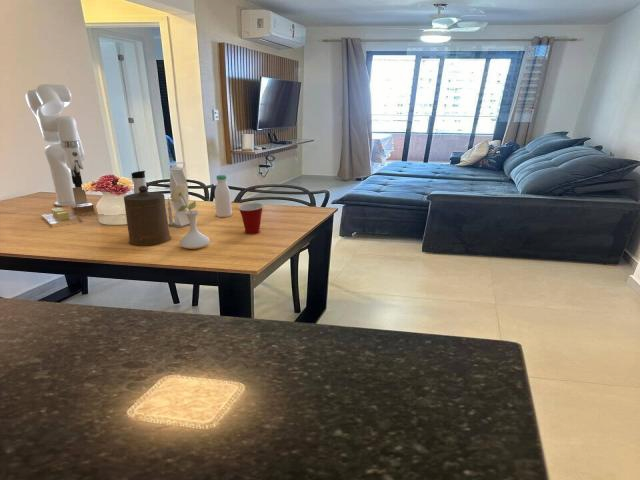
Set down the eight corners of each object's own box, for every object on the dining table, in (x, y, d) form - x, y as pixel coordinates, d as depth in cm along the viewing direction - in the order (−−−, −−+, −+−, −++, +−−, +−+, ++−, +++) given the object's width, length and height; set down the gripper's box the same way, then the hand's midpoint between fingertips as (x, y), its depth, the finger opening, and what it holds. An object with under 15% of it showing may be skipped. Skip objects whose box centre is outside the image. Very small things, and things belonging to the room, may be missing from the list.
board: (41, 218, 181) (41, 215, 181) (70, 213, 189) (70, 210, 189) (51, 227, 168) (50, 224, 168) (82, 222, 176) (81, 219, 176)
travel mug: (146, 210, 197) (141, 172, 191) (134, 210, 197) (128, 171, 191) (152, 207, 203) (147, 170, 196) (139, 207, 203) (134, 169, 197)
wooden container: (161, 232, 164) (155, 181, 157) (175, 240, 154) (169, 186, 147) (125, 238, 155) (116, 185, 148) (136, 248, 144) (128, 191, 137)
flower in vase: (200, 239, 156) (194, 178, 147) (216, 246, 149) (211, 182, 140) (170, 247, 146) (162, 183, 138) (185, 255, 139) (178, 187, 131)
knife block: (72, 215, 186) (70, 205, 184) (92, 212, 192) (90, 203, 190) (75, 217, 183) (73, 207, 181) (95, 214, 189) (93, 204, 187)
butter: (52, 214, 181) (51, 208, 180) (62, 213, 184) (61, 207, 183) (56, 217, 177) (55, 211, 176) (66, 216, 179) (65, 210, 178)
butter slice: (57, 219, 175) (56, 212, 174) (68, 217, 177) (66, 211, 176) (59, 220, 173) (57, 214, 172) (69, 218, 176) (68, 212, 175)
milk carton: (183, 221, 180) (177, 161, 171) (195, 223, 177) (189, 162, 167) (168, 225, 174) (161, 163, 164) (180, 228, 170) (173, 164, 161)
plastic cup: (237, 229, 169) (235, 203, 165) (261, 227, 173) (260, 201, 169) (241, 237, 160) (240, 209, 156) (267, 234, 163) (266, 207, 159)
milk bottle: (233, 216, 189) (230, 176, 182) (217, 218, 186) (214, 177, 180) (230, 212, 196) (228, 174, 189) (215, 214, 193) (212, 174, 186)
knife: (76, 204, 183) (70, 173, 178) (75, 203, 184) (69, 172, 179) (87, 202, 187) (82, 172, 182) (86, 202, 188) (80, 171, 183)
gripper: (84, 145, 173) (91, 185, 180) (74, 142, 184) (81, 180, 190) (65, 146, 168) (73, 187, 175) (56, 143, 179) (64, 182, 185)
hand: (77, 183), depth 182 cm, fingers closed on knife, 1 cm apart
